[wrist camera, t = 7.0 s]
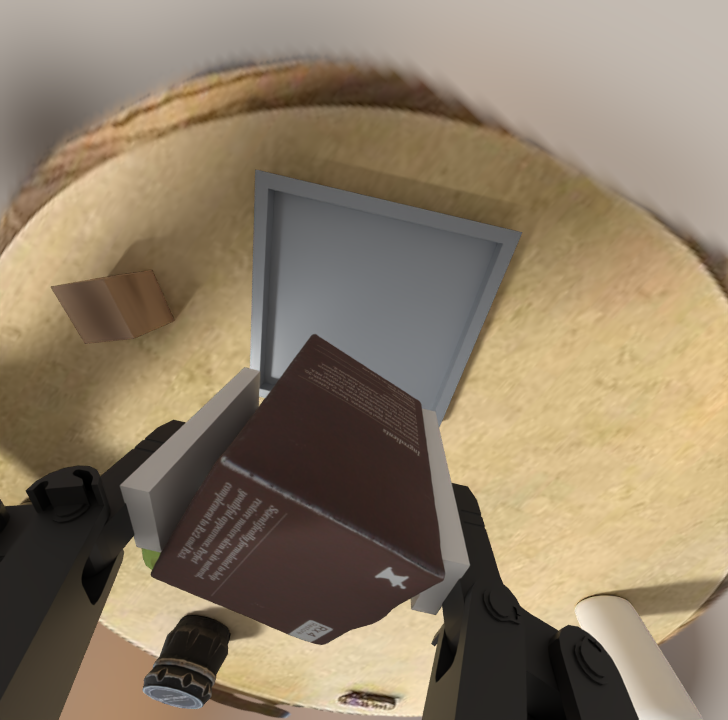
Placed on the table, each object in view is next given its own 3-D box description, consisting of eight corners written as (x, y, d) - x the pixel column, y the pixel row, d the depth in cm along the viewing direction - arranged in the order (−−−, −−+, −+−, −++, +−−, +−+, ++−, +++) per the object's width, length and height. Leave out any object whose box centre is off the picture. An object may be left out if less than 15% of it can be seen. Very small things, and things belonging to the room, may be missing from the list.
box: (315, 327, 12) (216, 454, 5) (425, 400, 13) (456, 582, 6) (257, 416, 14) (142, 578, 8) (353, 472, 15) (322, 655, 9)
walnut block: (132, 325, 29) (84, 343, 24) (107, 276, 27) (50, 286, 22) (175, 320, 28) (134, 338, 24) (152, 269, 26) (103, 278, 22)
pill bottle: (561, 603, 43) (638, 774, 30) (614, 587, 40) (726, 769, 27) (589, 625, 45) (673, 795, 31) (641, 610, 42) (758, 792, 28)
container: (224, 647, 63) (196, 716, 54) (170, 627, 61) (132, 696, 52) (243, 628, 58) (216, 701, 49) (184, 605, 56) (145, 678, 47)
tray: (257, 385, 31) (249, 394, 29) (265, 173, 22) (255, 169, 20) (432, 426, 31) (435, 437, 29) (512, 231, 22) (522, 232, 20)
